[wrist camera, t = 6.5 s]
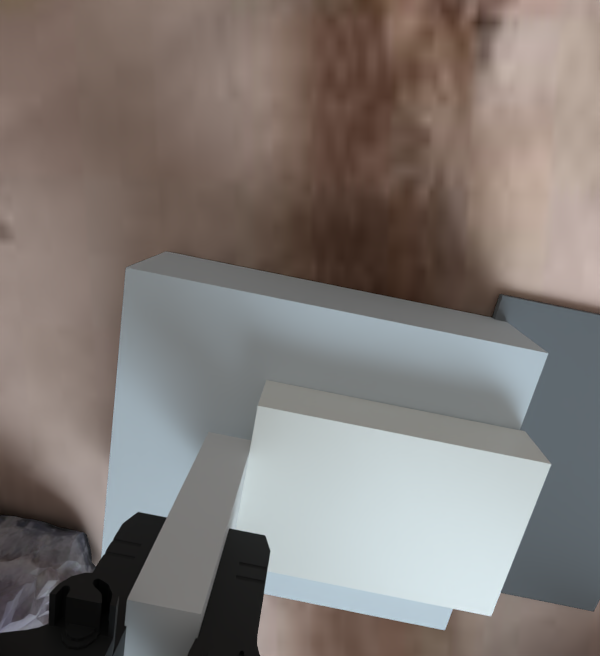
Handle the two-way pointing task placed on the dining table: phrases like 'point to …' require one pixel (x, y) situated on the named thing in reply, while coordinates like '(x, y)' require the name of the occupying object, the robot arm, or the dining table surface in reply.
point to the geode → (36, 568)
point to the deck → (288, 380)
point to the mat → (561, 456)
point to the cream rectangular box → (388, 496)
